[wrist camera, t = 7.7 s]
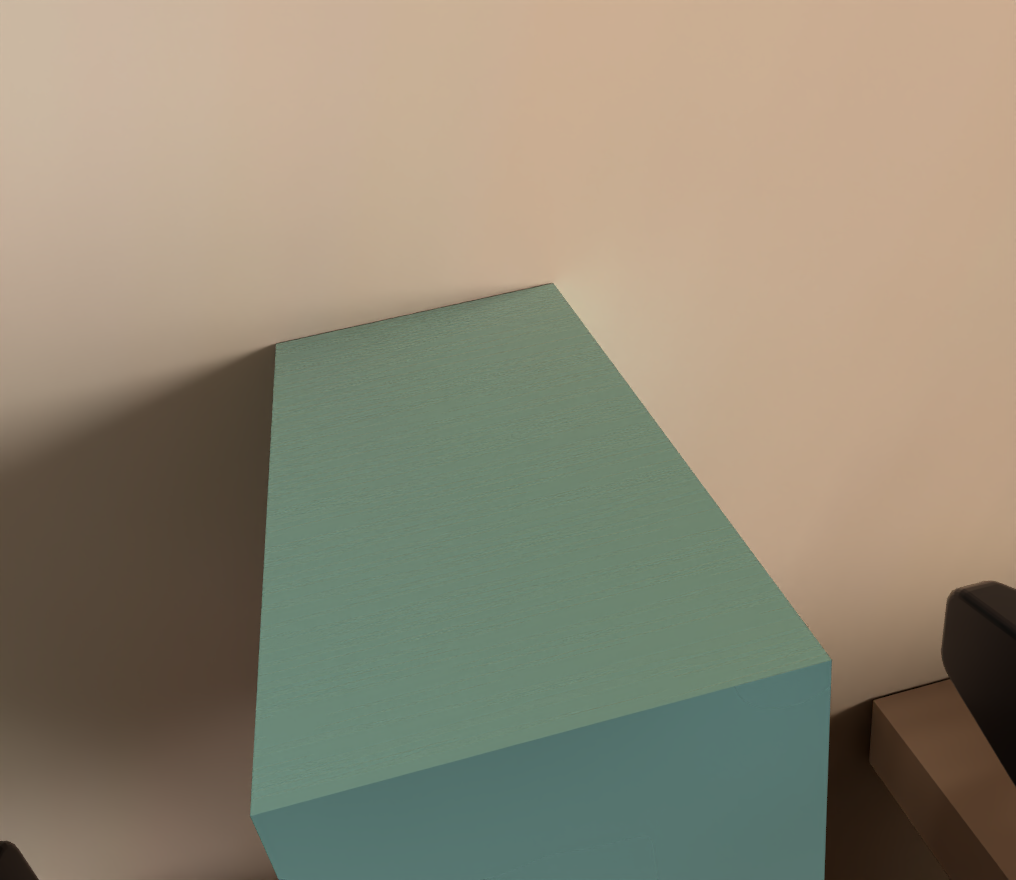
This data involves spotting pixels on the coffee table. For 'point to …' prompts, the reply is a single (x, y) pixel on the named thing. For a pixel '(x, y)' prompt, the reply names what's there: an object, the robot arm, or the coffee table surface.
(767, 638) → the teal block
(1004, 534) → the coffee table surface
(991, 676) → the robot arm
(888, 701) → the low stand
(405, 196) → the coffee table surface
